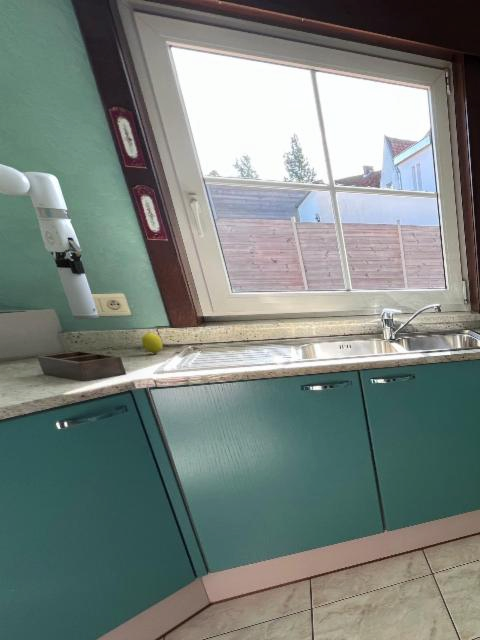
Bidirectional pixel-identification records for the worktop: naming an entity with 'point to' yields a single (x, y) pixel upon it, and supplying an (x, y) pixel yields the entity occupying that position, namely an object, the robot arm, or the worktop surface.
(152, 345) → the lemon
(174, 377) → the worktop surface
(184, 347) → the worktop surface
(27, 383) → the worktop surface
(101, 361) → the brown divided storage box
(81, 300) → the travel mug
